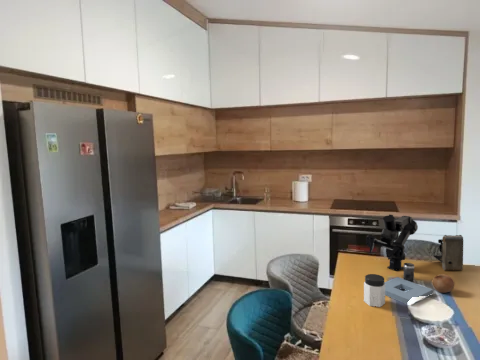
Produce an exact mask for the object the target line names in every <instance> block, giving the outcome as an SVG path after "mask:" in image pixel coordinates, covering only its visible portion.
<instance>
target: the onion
mask: <svg viewBox="0 0 480 360" xmlns="http://www.w3.org/2000/svg"><path fill="white" fill-rule="evenodd" d="M431 284H432V287H433V289H435V291H437V292H439V293H441V294H446V293H449V292H451V291H452V290H453V289H454V287H455V282H454V279H453V278H452V276H451V275H447V274H444V273H441V274H437V275H435V276H433V278H432V280H431Z"/></svg>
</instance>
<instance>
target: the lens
mask: <svg viewBox="0 0 480 360" xmlns="http://www.w3.org/2000/svg"><path fill="white" fill-rule="evenodd" d="M403 268H404V269H403V278H402V279H404V280H407V281H410V282H414V283H415V264H414V263H411V262H403Z"/></svg>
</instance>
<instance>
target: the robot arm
mask: <svg viewBox="0 0 480 360" xmlns="http://www.w3.org/2000/svg"><path fill="white" fill-rule="evenodd" d="M382 221H383V227H384V228H383V229H382V230H381V232H380V237H379V239H380V240H379V239H377V238H376V236H374V235H371V234H368V235H366V237H365V238H366V239H365V240H366V241H365V242H366V243H365V244H366V246H367V247H369V254H371V253H372V252H373V250H374V248H375V245H377V246H380V247H382V248H385V254H386V258H387V260H389V265H388V266H387V267H386V268H387V269H389V270H392V271H396V272H400V271H402V270H404V266H402V261H405V260H406V253H405V250H406V249H405V248H406V247H405V244H406V243H407V241H408V239H409V237H410V236H412V235H414V234H416V232H417V231H418V224H417V221H415V220H414V219H413V218H412V216H410V215H408V216H407V215H401V216H400V217H399V218H398V219H396V220H395V216H394V214H388V215H385V216H383V217H382Z"/></svg>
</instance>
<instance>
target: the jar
mask: <svg viewBox="0 0 480 360" xmlns="http://www.w3.org/2000/svg"><path fill="white" fill-rule="evenodd" d="M384 282H385V277H384V276H382V275H380V274H376V273H368V274H365V276H364V282H363V302H364V303H366V304H367V306H369V307H375V306H376V308H381V307H383V306H384V305H385V304H386V295H385V284H384Z"/></svg>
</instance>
